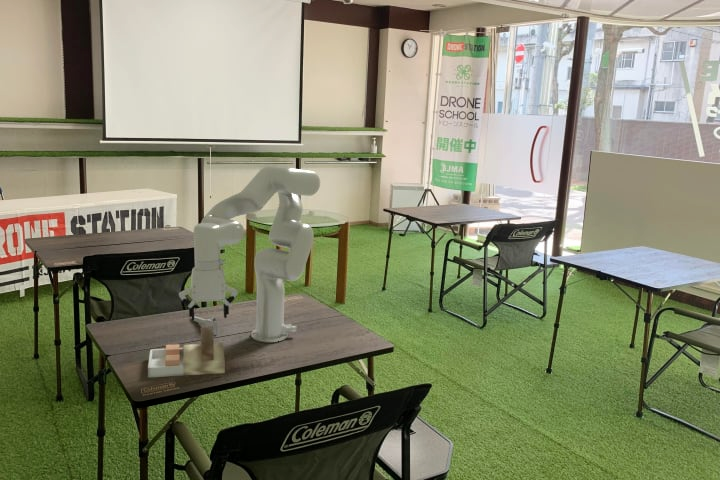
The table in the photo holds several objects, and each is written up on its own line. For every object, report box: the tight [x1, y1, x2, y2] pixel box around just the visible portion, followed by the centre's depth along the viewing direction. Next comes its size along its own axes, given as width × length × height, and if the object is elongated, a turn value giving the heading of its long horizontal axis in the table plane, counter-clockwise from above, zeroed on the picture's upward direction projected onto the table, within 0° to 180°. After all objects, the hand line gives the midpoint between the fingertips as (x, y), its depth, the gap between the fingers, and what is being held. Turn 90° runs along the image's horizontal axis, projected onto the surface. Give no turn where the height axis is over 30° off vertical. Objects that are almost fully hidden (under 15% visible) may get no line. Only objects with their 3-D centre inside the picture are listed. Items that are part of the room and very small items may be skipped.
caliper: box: [190, 315, 218, 336], centre depth 225 cm, size 20×1×6 cm, turn 39°
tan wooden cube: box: [165, 355, 180, 366], centre depth 188 cm, size 4×4×4 cm
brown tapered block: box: [200, 326, 215, 361], centre depth 193 cm, size 4×12×6 cm, turn 15°
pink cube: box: [165, 343, 180, 355], centre depth 195 cm, size 4×4×4 cm
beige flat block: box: [183, 342, 226, 376], centre depth 194 cm, size 12×14×4 cm
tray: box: [147, 347, 185, 378], centre depth 191 cm, size 10×14×3 cm
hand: (209, 317), depth 192 cm, fingers open, 9 cm apart
